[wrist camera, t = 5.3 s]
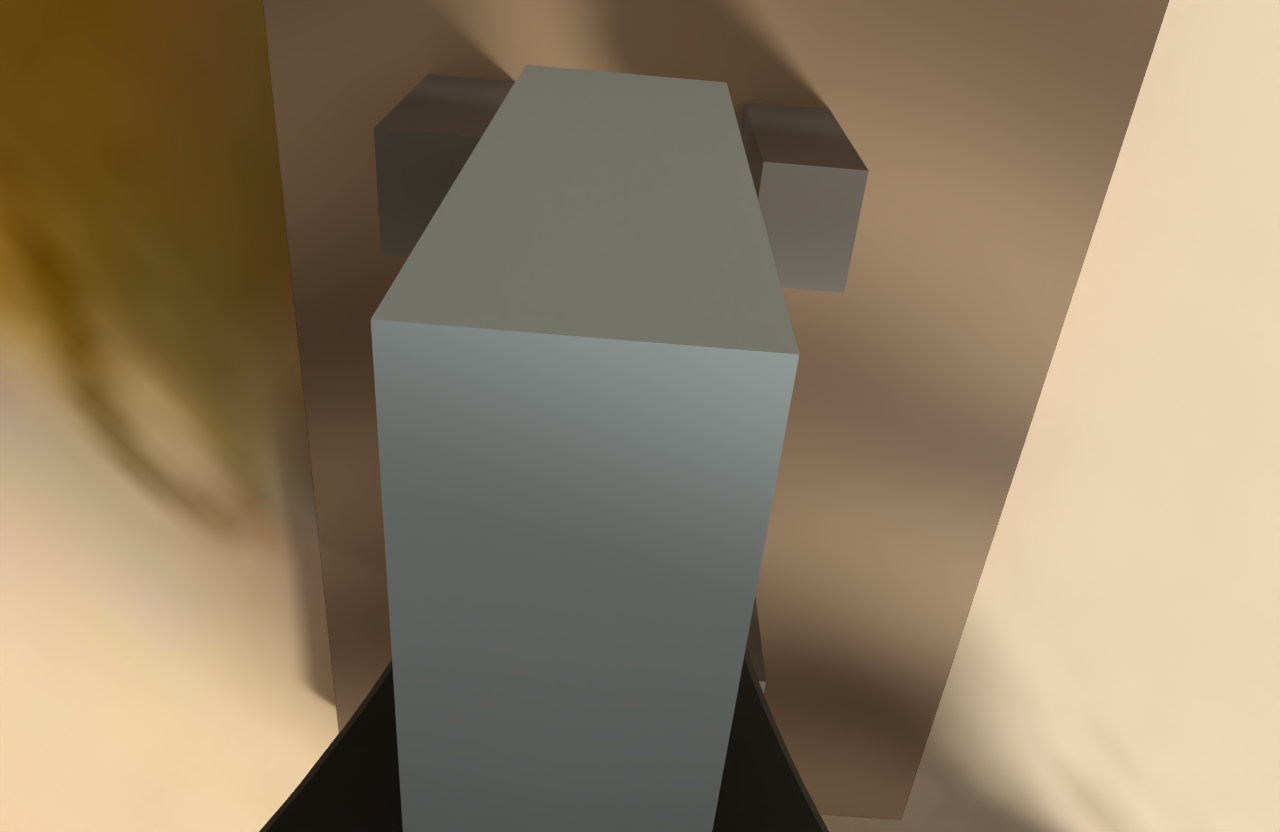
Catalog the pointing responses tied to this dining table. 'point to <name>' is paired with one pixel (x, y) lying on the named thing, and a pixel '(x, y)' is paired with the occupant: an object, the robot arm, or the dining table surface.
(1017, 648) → the dining table surface
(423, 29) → the plinth
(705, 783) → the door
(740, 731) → the robot arm
